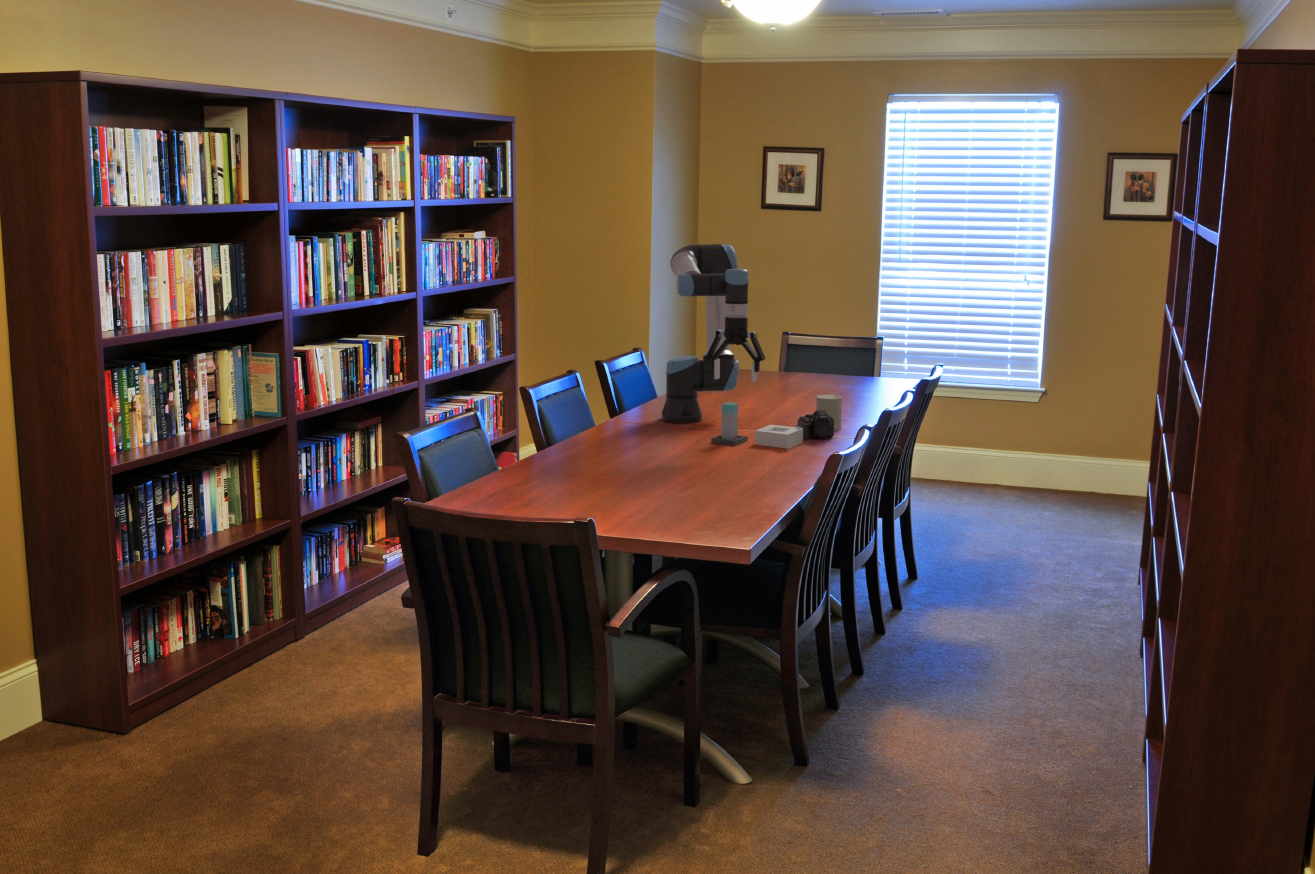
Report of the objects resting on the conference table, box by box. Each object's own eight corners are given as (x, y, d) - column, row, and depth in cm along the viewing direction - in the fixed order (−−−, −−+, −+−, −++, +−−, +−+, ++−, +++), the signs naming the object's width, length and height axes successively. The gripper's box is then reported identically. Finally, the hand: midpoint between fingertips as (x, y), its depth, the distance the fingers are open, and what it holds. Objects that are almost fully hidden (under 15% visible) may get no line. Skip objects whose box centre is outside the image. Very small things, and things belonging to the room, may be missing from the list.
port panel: (754, 445, 367) (755, 429, 366) (770, 438, 377) (770, 423, 376) (787, 449, 361) (788, 433, 360) (802, 442, 371) (803, 427, 370)
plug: (721, 442, 370) (721, 404, 368) (726, 440, 374) (727, 402, 371) (732, 443, 368) (732, 405, 366) (737, 441, 372) (738, 403, 369)
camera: (809, 442, 372) (810, 413, 370) (793, 437, 381) (793, 408, 379) (841, 438, 378) (842, 410, 376) (824, 433, 387) (825, 405, 385)
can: (840, 431, 390) (841, 398, 387) (814, 430, 391) (815, 397, 389) (841, 426, 399) (842, 393, 396) (816, 425, 400) (817, 392, 398)
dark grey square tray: (711, 443, 370) (711, 438, 369) (723, 439, 377) (723, 433, 377) (735, 447, 365) (735, 441, 365) (747, 442, 373) (747, 436, 372)
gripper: (697, 315, 366) (696, 378, 370) (767, 319, 354) (765, 384, 359) (707, 313, 373) (706, 376, 377) (775, 317, 361) (774, 381, 365)
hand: (735, 380), depth 368 cm, fingers open, 13 cm apart
